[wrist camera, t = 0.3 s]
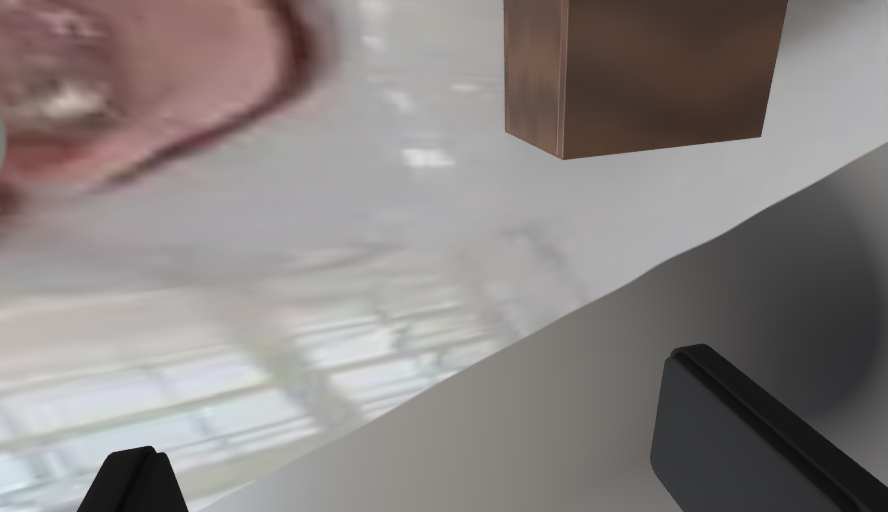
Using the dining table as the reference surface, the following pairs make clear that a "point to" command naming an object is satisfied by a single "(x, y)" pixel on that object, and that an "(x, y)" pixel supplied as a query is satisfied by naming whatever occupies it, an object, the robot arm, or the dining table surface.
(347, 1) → the dining table surface
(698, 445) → the robot arm
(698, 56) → the cabinet
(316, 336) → the dining table surface
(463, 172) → the dining table surface
